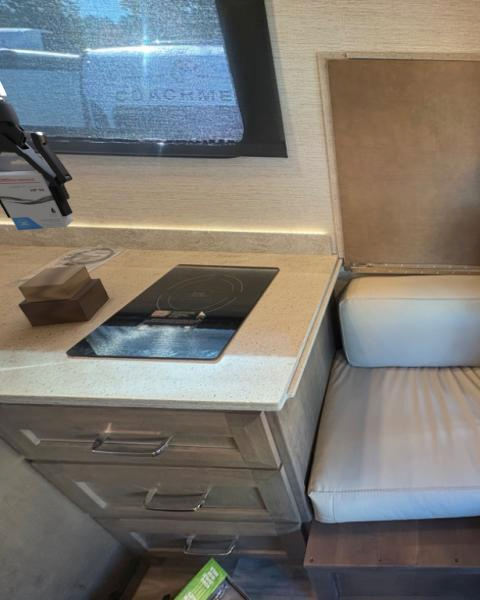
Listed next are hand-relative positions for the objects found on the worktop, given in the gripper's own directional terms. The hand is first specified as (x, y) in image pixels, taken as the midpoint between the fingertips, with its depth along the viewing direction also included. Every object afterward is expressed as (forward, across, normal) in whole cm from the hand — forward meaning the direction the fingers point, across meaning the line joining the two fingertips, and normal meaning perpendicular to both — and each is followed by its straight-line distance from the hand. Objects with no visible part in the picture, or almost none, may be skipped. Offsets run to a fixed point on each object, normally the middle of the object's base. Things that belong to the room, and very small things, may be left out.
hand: (41, 215), depth 74 cm
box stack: (+23, +1, +4) cm, 24 cm away
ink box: (+3, 0, 0) cm, 3 cm away
